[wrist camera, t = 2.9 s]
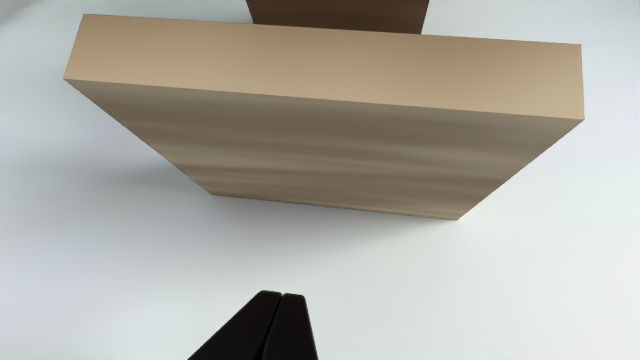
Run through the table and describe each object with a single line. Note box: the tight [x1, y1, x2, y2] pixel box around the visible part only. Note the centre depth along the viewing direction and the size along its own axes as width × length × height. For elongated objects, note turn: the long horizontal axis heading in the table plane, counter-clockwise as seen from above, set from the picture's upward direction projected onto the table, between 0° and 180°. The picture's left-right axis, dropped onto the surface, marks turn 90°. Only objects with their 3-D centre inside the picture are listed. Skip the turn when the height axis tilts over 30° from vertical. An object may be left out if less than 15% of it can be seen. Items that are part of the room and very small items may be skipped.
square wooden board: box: [63, 14, 585, 220], centre depth 13 cm, size 2×10×10 cm, turn 83°
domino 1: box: [246, 0, 429, 35], centre depth 14 cm, size 2×5×10 cm, turn 83°
